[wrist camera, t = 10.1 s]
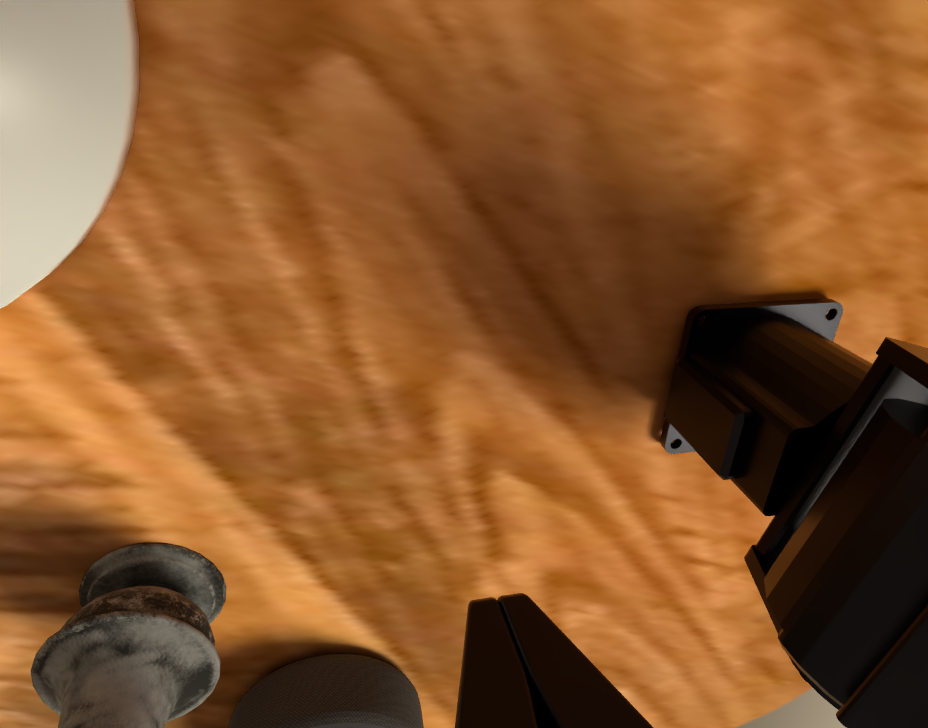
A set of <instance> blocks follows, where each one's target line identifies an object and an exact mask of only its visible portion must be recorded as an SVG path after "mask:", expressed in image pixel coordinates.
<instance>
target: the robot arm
mask: <svg viewBox="0 0 928 728" xmlns="http://www.w3.org/2000/svg"><path fill="white" fill-rule="evenodd" d="M828 311H829V312H828ZM827 312H828V314H826V313H827ZM842 313H843V307H842V305H841V304H840V303H838V302H836V301H834V300H832V299H814V300H795V301H776V302H757V303H739V304H720V305H701V306H697V307H695V308H694V309H692V310H691V311H690V313H689V314H688V316H687V319H686V323H685V328H684V333H683V337H682V342H681V347H680V351H679V356H678V360H677V363H676V364H675V367H674V372H673V377H672V381H671V386H670V391H669V395H668V400H667V405H666V409H665V414H664V417H665V421H664V425H663V430H662V435H661V439H660V443H661V445H662V447H663V448H664V449H665V450H666V451H667V452H668V453H671V454H676V453H685V452H695V451H696V452H697V453H698V454H699V455H700V456H701V457H702V458H703V459H704V460H705V461H706V463H707V464H708V465H709V466H710V467H711V468H712V469H713V470H714V471H715V472H716V473H717V474H718V475H719V476H720V477H721V478H722V479H723V480H728V479H731V480H732V481H733V482H734V483H735V484H736V486H737V487H738V488H739V489H740V490H741V491H742V492H743V493H744V494H745V495H746V496H747V497H748V498H749V499H750V500H751V501H752V502H753V503H754V504H755V506H756V507H757V508H758V509H759V510H760V511H761V512H762V513H763V514H764V515H765V516H773V515H775V516H774V518H773V519H772V521H771V523H770V524H769V526H768V527H767V529H766V530H765V532H764V533H763V535H762V536H761V538H760V540H759V541H758V543H757V544H756V545H752V546H751V548H750V549H749V551H748V553H747V554H746V556H745V557H744V559H745V561H746V564H747V566H748V568H749V570H750V572H751V575H752V577H753V579H754V581H755V584H756V586H757V588H758V590H759V592H760V595H761V597H762V599H763V601H764V604H765V606H766V608H767V610H768V612H769V615H770V617H771V619H772V621H773V624H774V626H775V628H776V630H777V632H778V639H779V641H780V643H781V646H782V648H783V649H784V650H785V652H786V653H787V654H788V656H789V658H790V659H791V661H792V663H793V665H794V666H795V667H796V669H797V670H798V671H799V673H800V675H801V676H802V678H803V679H804V680H805V681H806V682H808V683H809V684H810V685H811V686H812V687H813V688H814V689H815V690H816V691H817V692H818V693H819V694H820V695H821V696H822V697H823V698H824V699H826V700H827V701H828V702H829V703H830V704H832V705H833V706H834V707H835V708H837V709H838V712H837V713H836V716H837V719H838V720H839V721H840V722H841V723H842V724H843V725H844V726H845V727H847V728H928V348H925V347H921V346H918V345H914V344H910V343H907V342H903V341H899V340H896V339H892V338H888V337H886V338H885V339H884V341H883V343H882V344H881V346H880V347H879V349H878V350H877V352H876V354H877V355H878V357H877V358H876V360H875V362H874V363H873V364H872V363H870V362H868V361H866V360H864V359H863V358H861V357H859V356H857V355H856V354H854V353H852V352H850V351H849V350H847V349H845V348H843V347H841V346H840V345H838V344H836V343H834V342H833V340H834V337H835V334H836V331H837V328H838V325H839V322H840V319H841V316H842ZM703 316H705V318H704V320H703V321H702V322H701V323H699V324H698V321H699V319H700V318H701V317H703ZM675 439H676V441H674V442H673V443H671V442H672V441H673V440H675ZM455 728H653V727H652V726H651V725H650V723H649V722H648V721H647V720H646V719H645V718H644V717H643V716H642V715H641V714H640V713H639V712H638V711H637V710H636V709H635V708H634V707H633V706H632V705H631V704H630V702H629V701H628V700H627V699H626V698H625V697H624V696H623V695H622V694H621V693H620V692H619V691H618V690H617V689H616V688H615V687H614V686H613V685H612V684H611V683H610V682H609V680H608V679H607V678H606V677H605V676H604V675H603V674H602V673H601V672H600V671H599V670H598V669H597V668H596V667H595V666H594V665H593V664H592V663H591V662H590V661H589V659H588V658H587V657H586V656H585V655H584V654H583V653H582V652H581V651H580V650H579V649H578V648H577V647H576V646H575V645H574V644H573V643H572V642H571V641H570V640H569V638H568V637H567V636H566V635H565V634H564V633H563V632H562V631H561V630H560V629H559V628H558V627H557V626H556V625H555V624H554V623H553V622H552V621H551V620H550V619H549V617H548V616H547V615H546V614H545V613H544V612H543V611H542V610H541V609H540V608H539V607H538V606H537V605H536V604H535V603H534V602H533V601H532V600H531V599H530V598H529V597H528V596H527V595H525V594H523V593H518V594H511V595H505V596H501V597H499V598H498V600H496V599H495V598H492V597H491V598H484V599H477V600H472V601H470V603H469V605H468V613H467V622H466V631H465V640H464V649H463V659H462V668H461V677H460V686H459V695H458V704H457V714H456V723H455Z"/></svg>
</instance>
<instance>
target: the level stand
mask: <svg viewBox="0 0 928 728" xmlns="http://www.w3.org/2000/svg"><path fill="white" fill-rule="evenodd" d="M139 91H140V57H139V33H138V26H137V18H136V11H135V3H134V0H0V309H1V308H3V307H5V306H6V305H8V304H10V303H11V302H12V301H14V300H15V299H16V298H18V297H19V296H20V295H22V294H23V293H24V292H26V291H27V290H28V289H30V288H31V287H33V286H34V285H35V284H37V283H38V282H39V281H41V280H42V279H43V278H44V277H46V276H47V275H48V274H50V273H51V272H52V271H54V270H55V269H56V268H57V267H58V266H59V265H60V264H61V263H62V262H63V261H64V260H65V259H66V258H67V257H68V256H69V255H70V254H71V253H72V252H73V251H74V250H75V249H76V248H77V247H78V246H79V245H80V244H81V243H82V242H83V241H84V239H85V238H86V237H87V235H88V234H89V232H90V231H91V229H92V228H93V226H94V225H95V224H96V222H97V221H98V219H99V218H100V216H101V215H102V213H103V212H104V211H105V209H106V207H107V205H108V203H109V201H110V198H111V196H112V194H113V192H114V190H115V188H116V186H117V184H118V182H119V179H120V177H121V175H122V173H123V169H124V166H125V162H126V159H127V155H128V152H129V148H130V145H131V142H132V138H133V135H134V128H135V121H136V113H137V106H138V98H139Z"/></svg>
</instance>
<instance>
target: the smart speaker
mask: <svg viewBox="0 0 928 728" xmlns="http://www.w3.org/2000/svg"><path fill="white" fill-rule="evenodd" d="M229 728H424V726H423V719H422V712H421V705H420V701H419V697H418V694H417V691H416V689H415V687H414V686H413V684H412V683H411V681H410V680H409V679H408V678H407V677H406V676H405V675H404V674H403V673H402V672H401V671H399V670H398V669H397V668H395V667H394V666H392V665H390V664H388V663H386V662H383V661H381V660H378V659H375V658H372V657H367V656H363V655H356V654H329V655H321V656H315V657H310V658H306V659H303V660H300V661H296V662H294V663H291V664H288V665H286V666H284V667H282V668H280V669H278V670H276V671H274V672H272V673H271V674H269V675H267V676H266V677H264V678H263V679H261V680H260V681H259V682H258V683H256V684H255V685H254V686H253V687H252V688H251V689H250V690H249V691H248V692H247V693H246V694H245V695H244V696H243V698H242V699H241V700H240V702H239V703H238V705H237V706H236V708H235V710H234V712H233V714H232V717H231V720H230V723H229Z"/></svg>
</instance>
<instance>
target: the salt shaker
mask: <svg viewBox="0 0 928 728" xmlns="http://www.w3.org/2000/svg"><path fill="white" fill-rule="evenodd" d="M79 594H80V603H81V605H82V608H81V609H80V610H79V611H78V612H77V613H76V614H75V615H73V616H72V617H71V618H70V619H69V620H68V621H67V622H66V623H65V625H64V626H63V627H62V628H61V630H59V631H58V632H57V633H55V634H54V635H52V636H51V637H49V638H48V639H47V640H46V642H45V643H44V644H43V645H42V647H41V648H40V649H39V650H38V652H37V653H36V655H35V658H34V662H33V665H32V668H31V676H32V682H33V687H34V689H35V690H36V692H37V693H38V695H39V696H40V698H41V699H42V701H43V702H44V703H45V704H46V705H48V706H49V707H50V708H51V709H53V710H54V711H55V712H56V713H58V714H60V720H59V725H58V728H164V726H165V724H166V722H168V721H171V720H173V719H176V718H178V717H181V716H183V715H185V714H187V713H188V712H190V711H191V710H193V709H194V708H196V707H197V706H199V705H200V704H202V703H203V701H204V700H205V699H206V698H207V697H208V696H209V695H210V694H211V693H212V692H213V690H214V688H215V686H216V684H217V682H218V679H219V677H220V658H219V656H218V653H217V651H216V648H215V640H214V637H213V634H212V630H211V627H210V623H211V622H212V621H213V620H214V619H215V618H216V617H217V616H218V614H219V613H220V612H221V609H222V607H223V605H224V603H225V599H226V584H225V582H224V579H223V576H222V574H221V572H220V571H219V570H218V569H217V567H216V566H215V565H214V564H213V563H212V562H211V561H209V560H208V559H207V558H205V557H204V556H202V555H201V554H199V553H197V552H194V551H192V550H189V549H187V548H185V547H181V546H176V545H170V544H165V543H142V544H136V545H131V546H125V547H122V548H120V549H117V550H115V551H112V552H110V553H107V554H106V555H105V556H103V557H102V558H100V559H99V560H97V561H96V562H94V563H93V565H92V566H91V567H90V568H89V570H88V571H87V572H86V573H85V575H84V577H83V580H82V583H81V586H80V589H79Z"/></svg>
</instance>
